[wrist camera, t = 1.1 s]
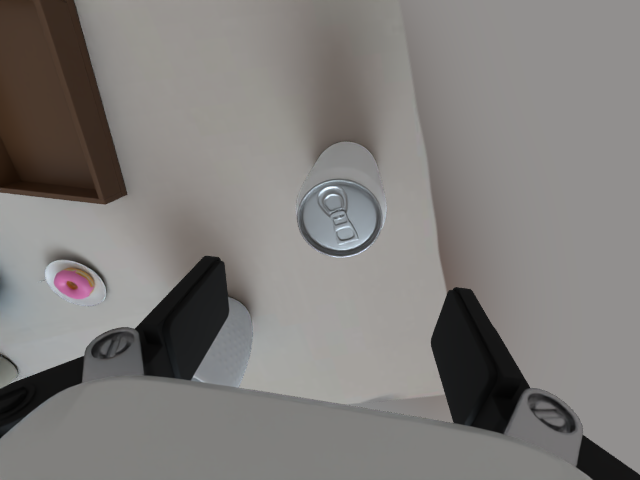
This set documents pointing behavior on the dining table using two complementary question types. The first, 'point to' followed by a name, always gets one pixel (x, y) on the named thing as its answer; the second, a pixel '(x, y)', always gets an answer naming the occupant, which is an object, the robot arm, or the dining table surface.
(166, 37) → the dining table surface
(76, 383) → the robot arm
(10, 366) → the travel mug
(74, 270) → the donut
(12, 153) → the tray
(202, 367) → the mug
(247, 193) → the dining table surface
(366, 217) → the can
